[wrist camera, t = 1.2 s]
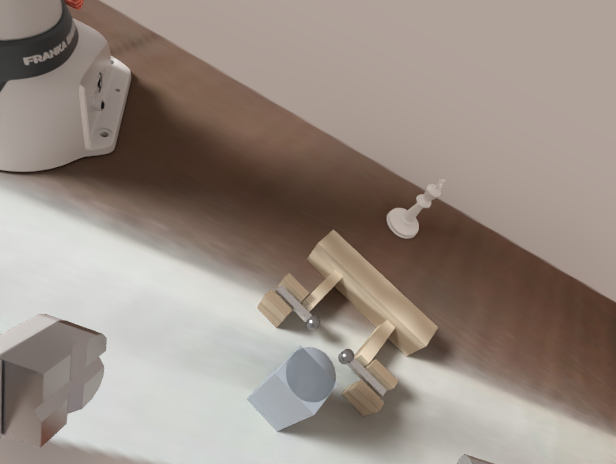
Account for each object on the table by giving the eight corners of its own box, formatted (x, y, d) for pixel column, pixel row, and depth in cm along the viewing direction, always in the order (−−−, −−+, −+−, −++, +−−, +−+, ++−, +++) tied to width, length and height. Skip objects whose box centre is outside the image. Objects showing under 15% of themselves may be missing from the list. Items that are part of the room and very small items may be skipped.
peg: (277, 431, 36) (314, 414, 28) (246, 398, 36) (274, 373, 28) (304, 397, 38) (345, 374, 30) (275, 367, 39) (308, 336, 31)
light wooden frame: (365, 418, 39) (384, 412, 36) (255, 305, 41) (263, 290, 38) (418, 338, 46) (438, 327, 43) (321, 246, 48) (333, 229, 45)
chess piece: (383, 228, 54) (423, 183, 46) (390, 204, 57) (429, 158, 49) (413, 244, 54) (459, 203, 46) (419, 220, 57) (463, 177, 49)
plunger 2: (377, 399, 38) (383, 397, 37) (336, 358, 39) (340, 354, 38) (383, 390, 39) (389, 387, 38) (342, 349, 40) (347, 346, 39)
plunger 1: (311, 333, 39) (315, 329, 38) (273, 294, 40) (276, 289, 39) (318, 325, 40) (322, 321, 39) (280, 287, 41) (283, 282, 40)
